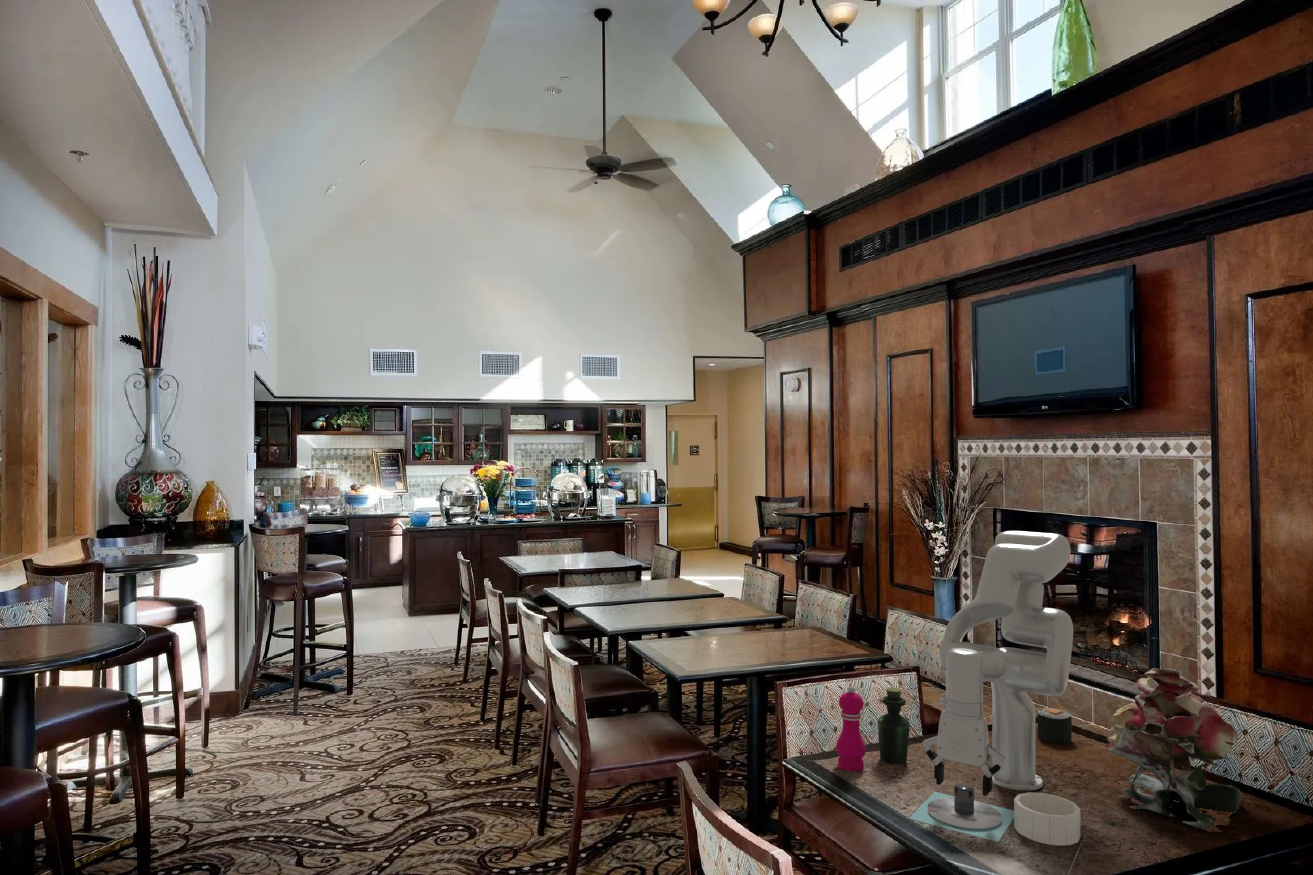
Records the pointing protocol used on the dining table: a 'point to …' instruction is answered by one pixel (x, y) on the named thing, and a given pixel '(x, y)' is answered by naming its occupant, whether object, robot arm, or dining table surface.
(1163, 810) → the rose bouquet
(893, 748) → the potion bottle
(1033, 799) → the white faceted bowl
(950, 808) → the metal lid
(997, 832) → the teal mat
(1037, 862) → the dining table surface
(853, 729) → the pepper mill
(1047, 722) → the sushi
